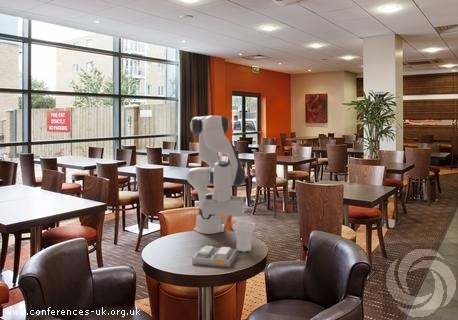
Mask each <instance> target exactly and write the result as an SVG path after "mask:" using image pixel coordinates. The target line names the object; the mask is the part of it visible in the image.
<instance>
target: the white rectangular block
mask: <svg viewBox="0 0 458 320" xmlns="http://www.w3.org/2000/svg"><path fill="white" fill-rule="evenodd" d="M220 248H221V249H220V250H219V251H218V252H217V258H218V259H225V260H228V259H229V257H230V256H231V249H232V248H231V247H230V246H228V247H227V246H220Z"/></svg>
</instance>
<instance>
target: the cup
mask: <svg viewBox="0 0 458 320" xmlns="http://www.w3.org/2000/svg"><path fill="white" fill-rule="evenodd" d="M255 225H256V224H255V223H254V222H252V221H236V222H235V221H234V223H232V229H233V231H234V235H235V238H236V239H235V240H236V245H235V246H236V248H235V249H237V253H243V254H246V253H247V252H248V253H251V250H252V244H251V243H252V236H253V233H254V230H255V228H256V226H255Z"/></svg>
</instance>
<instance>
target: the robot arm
mask: <svg viewBox="0 0 458 320" xmlns="http://www.w3.org/2000/svg"><path fill="white" fill-rule="evenodd" d="M189 128H190V131H191V133H192V134H193V135H195V136H198V157H199V159H200V160H201V161H203V162H204V163H206V164H208V166H206V167H205V166H202V167H200V166H199V167H191V168H189V170H187V174H186V180H187V183H189V184H190V185H191V186H192V187H193V188H194V189H195V190H196V193H197V196H198V202H199V203H198V204H199V205H198V206H199V207H198V210H197V211H198V215H197V216H196V219H195V220H196V221H195V227H194V228H193V231H196V232H197V233H199V234H207V235H208V234H210V235H211V234H217V233H222V232H224V231H225V225H227V219H228V217H229V216H232V217H242V216H243V215H244V213H245V209H244V204H245V199H244V198H243V197H242V196H241V195H240V196H239V195H237V196H236V195H233V189H232V186H233V187H234V186H235V187H240V186H242V185H243V184H244V183H245V181H246V172H245V170H244V167H243V166H242V164H241V161H240V158H239V156H238V153H237V151H236V148H235V146H234V144H233V142H232V141H231V140H229V139H228V137H227V136H226V135H225V134H227V133H228V131H229V128H230V122H229V119H228V117H227V116H224V115H203V116H201V115H200V116H198V115H197V116H195V117H192V118H191V121H190V123H189ZM218 153H221V154H224V155H226V157H227V158H228V160H229V162H228V161H225V160H219V156H218ZM209 186H213V188H212V189H213V190H210V189H209V188H208V187H209ZM221 216H224V219H222V218H221Z"/></svg>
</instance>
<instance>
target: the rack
mask: <svg viewBox="0 0 458 320" xmlns="http://www.w3.org/2000/svg"><path fill="white" fill-rule="evenodd" d="M220 249H221V247H215V245H214V246H213V245H204V246H201V247H200V249H199V250H198V251H197V252H196V253H195V254H194V255H193V256H192V257H191V264H192V265H199V266H200V265H201V266H212V267H225V268H230V267H231V266H232V265H233V262H234V261H235V260H236V258H237V256H238V252H237V249H236V248H231V256H230V257H229V259H228V260H225V259H218V258H217V252H218V251H219V250H220Z"/></svg>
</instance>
